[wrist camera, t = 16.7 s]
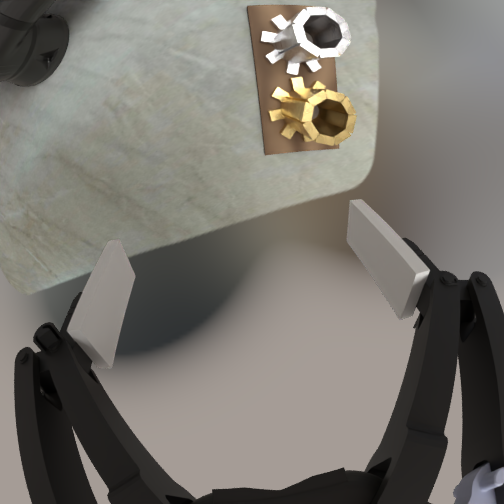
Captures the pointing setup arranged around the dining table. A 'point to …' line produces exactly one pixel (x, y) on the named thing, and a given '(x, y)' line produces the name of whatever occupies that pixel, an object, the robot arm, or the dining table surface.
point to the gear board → (283, 79)
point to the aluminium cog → (298, 47)
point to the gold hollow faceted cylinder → (301, 110)
